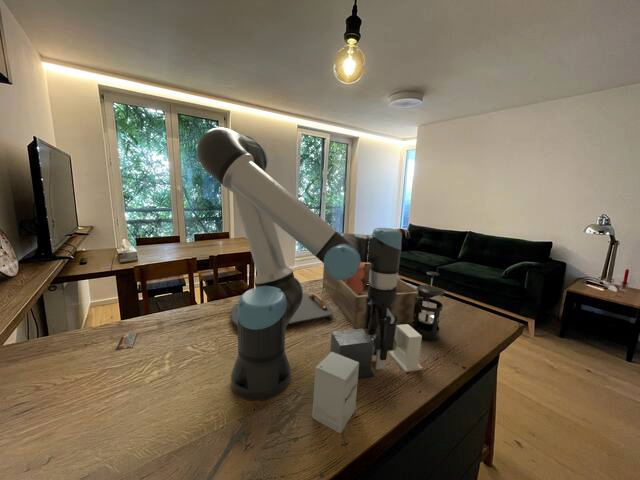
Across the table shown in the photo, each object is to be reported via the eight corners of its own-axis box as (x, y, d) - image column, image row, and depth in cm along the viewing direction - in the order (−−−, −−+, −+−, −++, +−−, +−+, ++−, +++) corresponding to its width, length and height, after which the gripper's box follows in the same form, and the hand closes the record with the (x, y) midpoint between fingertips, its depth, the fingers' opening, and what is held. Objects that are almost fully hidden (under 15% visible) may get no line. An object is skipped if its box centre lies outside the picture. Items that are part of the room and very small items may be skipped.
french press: (446, 340, 94) (455, 277, 90) (423, 344, 92) (431, 278, 87) (424, 324, 105) (431, 266, 101) (403, 326, 103) (409, 267, 98)
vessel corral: (353, 327, 100) (356, 297, 98) (322, 287, 139) (323, 264, 137) (418, 321, 107) (422, 292, 105) (371, 284, 146) (373, 263, 144)
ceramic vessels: (414, 317, 110) (420, 273, 107) (372, 327, 101) (376, 278, 98) (364, 287, 141) (367, 252, 138) (328, 293, 132) (330, 255, 128)
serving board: (237, 341, 88) (237, 324, 87) (225, 312, 108) (225, 297, 107) (339, 320, 106) (340, 305, 105) (313, 297, 126) (313, 285, 125)
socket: (405, 372, 77) (409, 339, 75) (389, 353, 85) (392, 323, 83) (422, 369, 78) (426, 337, 76) (404, 351, 87) (408, 322, 85)
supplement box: (341, 435, 56) (345, 381, 54) (311, 418, 60) (313, 366, 58) (356, 411, 62) (360, 361, 60) (328, 397, 66) (331, 350, 64)
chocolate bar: (122, 334, 89) (122, 332, 89) (139, 332, 91) (139, 330, 91) (113, 353, 79) (113, 351, 79) (133, 350, 81) (133, 348, 81)
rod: (343, 363, 73) (344, 346, 72) (336, 352, 78) (337, 335, 77) (396, 356, 77) (398, 339, 76) (387, 346, 82) (388, 330, 81)
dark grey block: (336, 382, 71) (338, 348, 69) (326, 361, 80) (328, 330, 78) (374, 376, 74) (377, 343, 72) (361, 357, 83) (363, 326, 81)
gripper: (414, 297, 67) (404, 381, 71) (379, 274, 84) (373, 342, 88) (386, 299, 65) (378, 385, 69) (356, 275, 82) (351, 345, 86)
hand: (375, 361), depth 79 cm, fingers closed on rod, 5 cm apart
